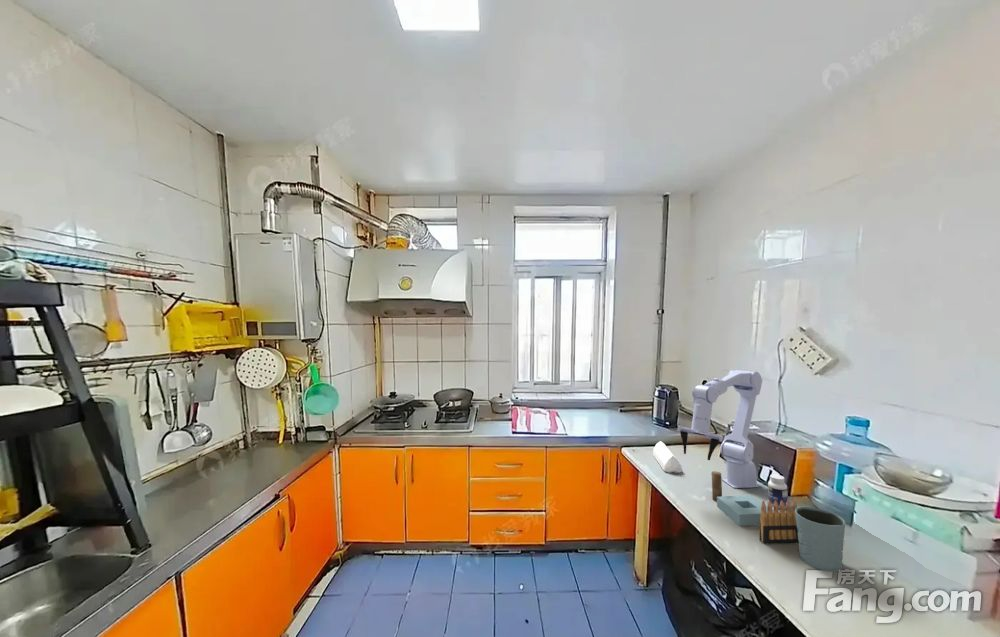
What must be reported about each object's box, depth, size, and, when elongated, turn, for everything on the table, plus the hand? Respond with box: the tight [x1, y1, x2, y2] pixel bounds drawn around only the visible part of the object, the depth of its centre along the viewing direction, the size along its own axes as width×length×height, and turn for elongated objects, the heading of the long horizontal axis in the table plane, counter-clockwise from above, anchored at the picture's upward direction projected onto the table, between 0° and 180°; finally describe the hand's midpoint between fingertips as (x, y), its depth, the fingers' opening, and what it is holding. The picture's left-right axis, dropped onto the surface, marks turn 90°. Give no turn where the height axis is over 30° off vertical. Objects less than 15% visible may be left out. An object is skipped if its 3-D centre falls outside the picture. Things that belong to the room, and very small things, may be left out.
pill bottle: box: [767, 473, 789, 509], centre depth 130 cm, size 5×5×10 cm
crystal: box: [652, 440, 683, 474], centre depth 170 cm, size 7×7×24 cm
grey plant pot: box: [795, 506, 846, 572], centre depth 100 cm, size 10×10×12 cm
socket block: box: [716, 494, 773, 527], centre depth 124 cm, size 12×12×4 cm
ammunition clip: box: [759, 499, 799, 545], centre depth 109 cm, size 11×2×12 cm, turn 89°
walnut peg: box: [711, 470, 723, 502], centre depth 135 cm, size 3×3×10 cm
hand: (696, 456), depth 137 cm, fingers open, 7 cm apart
